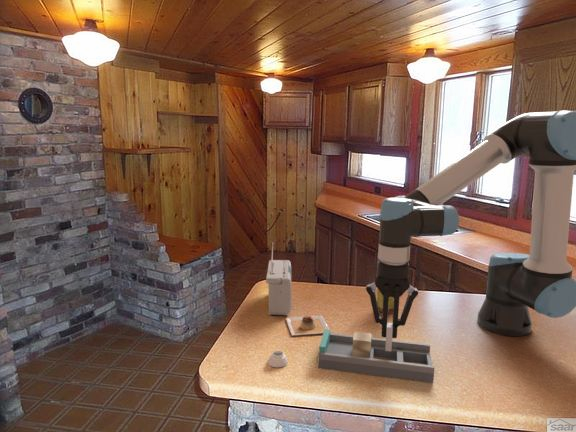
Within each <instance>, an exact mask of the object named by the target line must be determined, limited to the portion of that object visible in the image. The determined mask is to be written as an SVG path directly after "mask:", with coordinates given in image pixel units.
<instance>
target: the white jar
mask: <svg viewBox="0 0 576 432" xmlns="http://www.w3.org/2000/svg"><path fill="white" fill-rule="evenodd" d="M267 363H268V365H269V366H270V367H273V368H283V367H285V366H287V364H288V359H287V357H286V355H285V353H284V351H282V350H278V349H277V350H274V351H272V353H271V354H270V356H269V357H268V360H267Z"/></svg>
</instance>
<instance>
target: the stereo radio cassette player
mask: <svg viewBox="0 0 576 432" xmlns="http://www.w3.org/2000/svg"><path fill="white" fill-rule="evenodd" d="M271 245H272V247H271V257H270V258H271V259H270V260H268V266H267V272H266V278H265V283H266V284H268V314H269V315H270V316H273V315H275V316H286V317H287V316H288V315H290V314H291V310H292V309H291V306H292V305H291V304H292V264H291V263H292V262H291V261H290V260H289V259H274V258H273V257H274V256H273V255H274V242H272V243H271Z"/></svg>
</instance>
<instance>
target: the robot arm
mask: <svg viewBox="0 0 576 432" xmlns="http://www.w3.org/2000/svg"><path fill="white" fill-rule="evenodd" d="M524 156H529V158H528V166H529V167H530V168H531V169H533V170H534V180H533V181H534V182H533V195H532V196H533V197H532V210H531V211H532V213H531V214H532V215H531V226H530V240H529V244H530V245H529V254H527V253H521V252H519V253H518V252H498V253H497V252H496V253H494V254H492V255H491V256H490V258H489V263H488V265H487V281H486V291H485V292H486V293H485V299H484V301H483V303H482V305H481V307H480V309H479V311H478V312H477V320H476V321H477V324H479V326H480V327H482V328H483V329H485V330H487V331H489V332H492V333H496V334H499V335H503V336H510V337H523V336H524V337H525V336H527V335H529V334H530V333H531V332H532V328H533V327H532V325H533V323H532V322H533V321H532V319H531V314H530V311H529V309H532V310H533V311H535V312H536V313H537V314H540V315H544V316H546V317H549V318H553V319H557V318H558V319H559V318H562V317H565V316H567V315H569V314H570V313H571V312H572V311H573V310H574V309H575V308H576V280H575V279H574V278H572V277H573V266H572V265H571V264H570V263H569V262H568V261H567V258H568V257H567V256H568V245H569V233H570V232H569V231H570V222H571V209H572V208H571V207H572V196H573V184H574V174H575V171H576V110H566V109H565V110H564V109H561V110H555V111H554V110H553V111H552V110H551V111H550V110H549V111H533V112H532V111H531V112H527V113H522V114H520V115H517V116H516V117H513V118H512V119H510V120H508V121H506V122H505V123H503V124H501V125H499V127H497V128H496V129H495V128H494V130H493V131H491V132H489V133H487V134H486V135H485V136H484V139H483V141H482V142H481V143H479V145H477V146H476V147H474V148H473V149H471V150H470V151H468V152H467V153H466V154H464V155H463V156H461V157H460V158H458V159H457V160H456V161H454V162H453V163H451V164H450V165H449V166H447V167H445V168H444V169H443V170H441V171H440V172H438V173H437V174H436V175H434V176H432V177H431V178H429V179H428V180H427V181H426V182H424V183H422V184H421V185H420V186H418V187H417V188H415V189H414V190H413V191H411V192H409V193H408V194H407V195H404V194H403V195H396V196H395V197H386V198H384V199H383V200H382V202H381V206H380V212H379V235H378V236H379V240H378V251H377V252H378V254H377V259H378V261H377V273H376V274H377V275H376V277H375V280H374V282H372V283H367V284H366V287H365V290H366V292H367V294H368V295H369V299H370V304H371V309H372V312H373V313H372V314H373V318H374V322H375V323H376V324H380V325H381V337H382V338H385V339H386V345H385V351H391V349H392V340H393V339H397V337H398V327H399V326H402V327H403V326H405V325H406V323H407V320H408V317H409V315H410V312H411V309H412V305H413V302H414V300H415V298H416V297H417V296H418V295H419V290H418V288H417V287H413V286H412V285H411V284H410V280H409V271H410V270H409V269H410V263H409V261H410V258H411V257H410V256H411V255H410V254H411V244H412V243H411V241H412V238H417V237H439V236H440V237H442V236H450V235H453V234H455V232H456V231H457V230H458V229H459V223H460V216H459V212H458V210H457V209H456V208H455V207H454V206H453V205H448V204H446V205H444V204H445V202H447V201H448V200H450V199H451V198H453V197H454V196H455V195H457V194H459V193H460V192H461V191H463V190H464V189H466V188H467V187H468V186H470V185H471V184H473V183H475V181H478V180H479V179H480V178H481V177H482V176H483V177H484V175H486V174H487V173H489V172H490V171H492V170H493V169H494V168H495V167H497V166H499V165H500V164H508V163H510V162H511V161H512V160H514V159H516V158H519V157H524ZM377 288H378V289H379V291H380V292H381V294H382V295H383V296H384V299H383V312H382V316H381V315H380V311H379V309H378V304H377V294H376V292H377ZM406 291H407V297H406V301H405V304H404V306H403V309H402V312H401V315H400V318H399V312H400V310H399V309H400V308H399V307H400V297H402V296H403V294H405V292H406ZM389 297H393V298H394V306H393V313H392V322H388V315H389V313H388V301H389Z"/></svg>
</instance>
